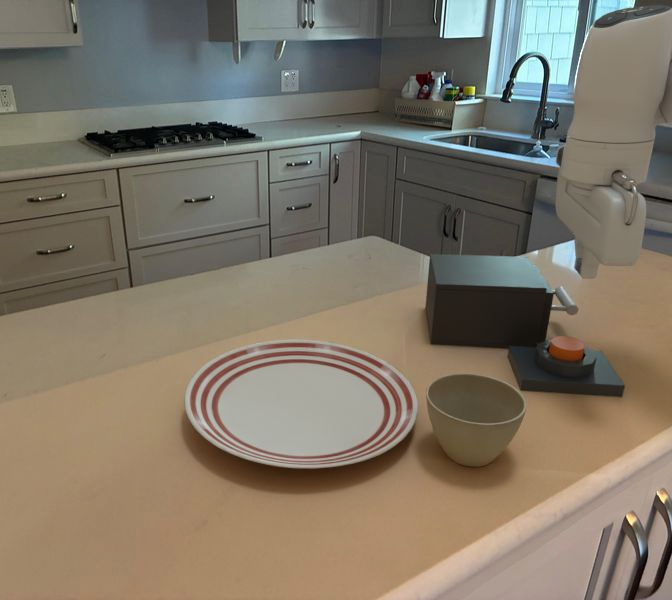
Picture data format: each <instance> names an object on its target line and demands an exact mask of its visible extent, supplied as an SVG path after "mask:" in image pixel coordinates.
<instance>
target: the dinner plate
mask: <svg viewBox="0 0 672 600" xmlns="http://www.w3.org/2000/svg"><path fill="white" fill-rule="evenodd" d="M183 401H184V410H185V413H186V416H187V419H188V420H189V422H190V424H191V425H192V426H193V428H194V429H195V431H197V433H198V434H199V435H201V436H202V437H203V439H205V440H206V441H208V442H209V443H210V444H212V445H214V446H215V447H217V448H219V449H220V450H222V451H224V452H226V453H227V454H230V455H233V456H235V457H238V458H240V459H243V460H247V461H250V462H254V463H258V464H262V465H267V466H272V467H277V468H278V467H279V468H286V469H287V468H289V469H325V468H326V469H327V468H334V467H342V466H348V465H352V464H357V463H360V462H364V461H367V460H370V459H372V458H375V457H378V456H380V455H382V454H384V453H386V452H387V451H389V450H391V449H392V448H394V447H396V446H397V445H398V444H399V443H400V442H402V441H403V440H404V439H405V438H406V437H407V436H408V435H409V433H410V432H411V431H412V429H413V428H414V426H415V423H416V421H417V418H418V413H419V401H418V396H417V394H416V392H415V390H414V387H413V386H412V384H411V383H410V381H409V380H408V379H407V377H405V376H404V374H403V373H401V372H400V371H399V370H398V369H397V368H396V367H394V366H392V365H391V364H390V363H388V362H386V361H385V360H384V359H381V358H380V357H378V356H375V355H373V354H371V353H369V352H367V351H364V350H361V349H358V348H357V347H351V346H348V345H345V344H341V343H335V342H330V341H323V340H315V339H314V340H313V339H277V340H268V341H263V342H257V343H252V344H249V345H245V346H240V347H238V348H235V349H232V350H230V351H227V352H225V353H223V354H220V355H218V356H216V357H214V358H213V359H211V360H209V361H208V362H207V363H205V364H204V365H203V366H201V367H200V368H199V369H198V370H197V371H196V372H195V373H194V375H193V376H192V378H191V379H190V381H189V382H188V385H187V387H186V388H185V393H184V400H183Z"/></svg>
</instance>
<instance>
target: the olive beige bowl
mask: <svg viewBox="0 0 672 600" xmlns="http://www.w3.org/2000/svg"><path fill="white" fill-rule="evenodd" d="M425 399H426V407H427V412H428V417H429V421H430V424H431V428H432V430H433V432H434V435H435V437H436V439H437V441H438V443H439V445H440V446H441V448H442V450H443V451H444V453H445V454H446V456H447V457H448V458H449V460H451V461H453V462H455V463H457V464H458V465H461V466H465V467H472V468H479V467H484V466H487V465H489V464H490V463H492V462H493V461H494V460H495V459H496V458H498V457H499V456H500V455H501V454H502V453H503V452H504V451H505V450H506V448H507V447H508V446H509V445H510V444H511V442H512V440H513V439H514V438H515V436H516V435H517V433H518V431H519V429H520V427H521V426H522V425H521V424H522V423H523V420H524V417H525V415H526V412H527V406H528V405H527V400H526V398H525V395H524V394H523V393H522V392H521V390H520V389H518V388H516V387H515V386H513V385H512V384H510V383H508V382H506V381H504V380H502V379H499V378H496V377H494V376H489V375H486V374H480V373H474V372H473V373H471V372H456V373H455V372H454V373H449V374H444V375H441V376H439V377H436V378H435V379H433V380H432V381H431V382H430V383H428V385H427V387H426V391H425Z"/></svg>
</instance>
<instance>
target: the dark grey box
mask: <svg viewBox="0 0 672 600" xmlns="http://www.w3.org/2000/svg"><path fill="white" fill-rule="evenodd" d="M532 264H533V263H532V262H531V261H530V260H529V258H528V256H507V255H474V254H449V253H448V254H447V253H446V254H445V253H443V254H441V253H430V254H429V261H428V274H427V284H426V296H425V297H426V298H425V306H424V307H425V309H424V310H425V316H426V323H427V330H428V335H429V343H430V345H433V346H450V347H468V348H469V347H470V348H485V349H486V348H487V349H488V348H489V349H502V350H503V349H505V350H509V346H522V347H537V346H538V344H539V343H538V337H539V331H540V325H541V319H542V314H543V308H544V302H545V296H546V290H547V288H546V287H545V285H544V283H543V282H542V280H541V279H540V277H539V275H538V274H537V272H536V271H535V269H534V267H533V266H532Z"/></svg>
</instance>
